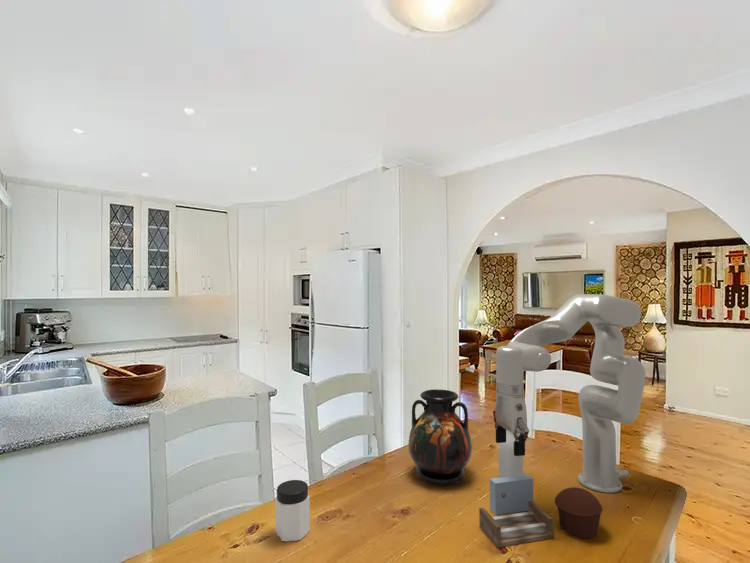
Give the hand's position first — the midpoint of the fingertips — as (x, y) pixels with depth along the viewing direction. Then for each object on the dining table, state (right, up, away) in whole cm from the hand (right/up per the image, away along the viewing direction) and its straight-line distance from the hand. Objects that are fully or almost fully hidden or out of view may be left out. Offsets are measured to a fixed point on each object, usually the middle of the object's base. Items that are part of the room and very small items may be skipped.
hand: (509, 448), depth 118 cm
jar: (-61, -18, -10) cm, 64 cm away
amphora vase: (-17, -18, +22) cm, 33 cm away
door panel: (+1, -18, 0) cm, 18 cm away
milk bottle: (+7, -18, +19) cm, 27 cm away
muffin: (+15, -18, -10) cm, 25 cm away
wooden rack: (-2, -18, -11) cm, 21 cm away
